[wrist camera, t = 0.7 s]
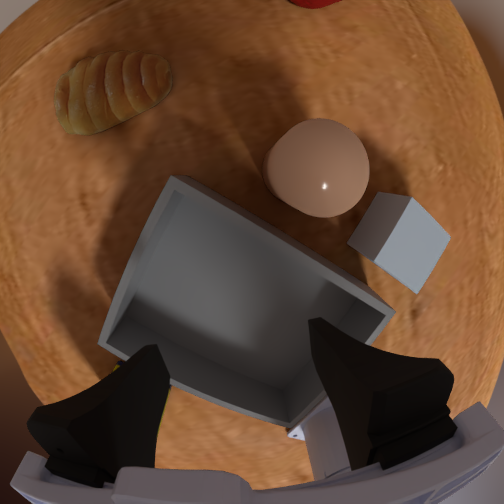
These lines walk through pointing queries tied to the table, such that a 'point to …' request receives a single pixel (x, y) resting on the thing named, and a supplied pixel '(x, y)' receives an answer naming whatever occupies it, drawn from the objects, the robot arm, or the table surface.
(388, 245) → the slate-blue block
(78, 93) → the pastry
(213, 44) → the table surface
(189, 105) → the table surface
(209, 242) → the charcoal tote
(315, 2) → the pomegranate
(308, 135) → the tan rounded cylinder
